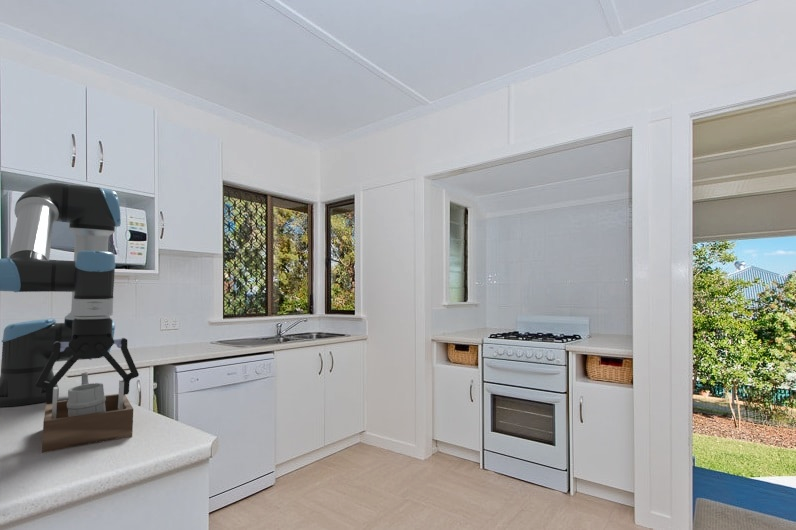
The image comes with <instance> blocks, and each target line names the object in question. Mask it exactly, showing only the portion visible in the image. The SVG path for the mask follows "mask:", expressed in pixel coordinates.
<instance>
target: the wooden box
mask: <svg viewBox="0 0 796 530" xmlns="http://www.w3.org/2000/svg"><path fill="white" fill-rule="evenodd" d="M104 395H105V396H106V401H105V409H106V412H99V413H92V414H85V415H78V416H71V417H68V408H67V402H68V399H64V400H59V401H58V400H57V410H56V419H52V404H46V403H45V408H44V409H45V410H44V416H43V426H42V441H41V442H42V444H41V453H47V452H53V451H58V449H59V450H63V449H69V448H75V447H80V446H87V445H92V444H98V443H102V442H103V441H104V442H108V441H109V442H110V441H115V440H121V439H125V438H132V437H133V428H134V427H133V425H134V408H133V406H132V404H131V403H130V401H129V399H128V398H127V394H126V395H124V396H123V409H121V410H119V409H118V395H119V393H114V394H104Z"/></svg>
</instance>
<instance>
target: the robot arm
mask: <svg viewBox="0 0 796 530" xmlns="http://www.w3.org/2000/svg"><path fill="white" fill-rule="evenodd" d="M14 215H15V217H16V218H17V220H16V223H15V227H14V232H13V237H12V241H11V244H10V248H9V253H8V257H6V258H0V292H14V293H25V292H26V293H28V292H29V293H31V292H32V293H34V292H35V293H37V292H38V293H40V292H49V293H50V292H55V293H56V292H59V293H60V292H61V293H62V292H64V293H65V292H66V293H67V292H68V293H70V292H71V308H70V309H71V310H70V312H68V313H67V315H65V316H64V320H63V321H64V322H57V321H56V319H55V318H44V319H35V320H26V321H20V322H15V323H11V324H8V325H7V326H6V327H5V328H4V329H3V332H2V333H3V336H2V340H1V343H2V349H1V350H2V351H1V363H0V407H17V406H26V405H34V404H38V403H39V404H40V403H43V402H45V405H46V404H52V419H56V410H57V401H58V397H59V394H60V387H59V385H58V383H59V381H61V379H62V378H63V377H64V376H65V375H66V374H67V373H68V371H69V370H70V369H71V368H72V367H73V365H75V364H76V362H77V361H79V360H80V361H81V360H82V361H83V360H91V361H92V360H93V359H102V358H104V359H105V360H106V361H107V362H108V363H109V364H110V365H111V367H113V369H114V370H115V371H116V372H117V374H118V375H120V377H121V378H122V379H120V380H118V394H119V395H118V409H119V410H121V409H123V396H124V395H126V396H127V395H129V393H130V383H131V380H133V379H135V378H138V377H139V375H140V373H139V371H138V369H137V367H136V365H135V362H134V359H133V357H132V355H131V353H130V351H129V348H128V339H127V338H126V337H122V338H114V337H115V336H114V335H115V329H116V323H115V321H113V319H112V318H111V316H113V315H114V314H113V313H114V290H115V289H114V287H115V286H114V285H115V271H116V265H117V264H116V258H115V257H116V256H115V254H114V253H113V252H111V251H109V239H110V238H109V237H110V236H111V235H112V234H114V233H115V232H116V229H115V228H117V227H118V228H119V227H120V226H121V221H122V220H121V209H120V200H119V196H118V193H117V192H116V191H114V190H112V189H109V188H102V187H96V186H88V185H87V186H85V185H77V184H69V183H64V182H63V183H62V182H48V183H44V184H40V185H37V186H33V187H32V188H31V189H28V190H27V191H25V192H24V193H22V194H21V195H20V197H19V198H18V199H17V201H16V203H15V206H14ZM56 222H59V223H60V222H61V223H68V224H69V228H68V229H69V230H70V231H71V232H72V233H73V234H74V250H73V251H74V253H73V260H71V261H70V260H57V259H56V260H55V259H53V260H52V259H50V258H51V257H50V256H51V255H50V253H51V245H52V237H53V229H54V228H53V227H54V225H55V223H56ZM113 345H116V347H117V348H118V349H120V351H121V353H122V356H123V358H124V360H125V362H126V365H127V366H128V369H129V371H130V372H129V373H127V371H125V370H124V369H123V367H122V366H121V365H120V364H119V363H118V361H117V360H116V359H115V358H114V357H113V356H112V354H111V353H110V352H111V349H112V347H113ZM56 362H65V363H64V364H63V365H62V366H61V367H60V369H59V370H58V371H57V372H56V373H54V368H53V367H54V365H55V363H56Z"/></svg>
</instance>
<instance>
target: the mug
mask: <svg viewBox="0 0 796 530" xmlns="http://www.w3.org/2000/svg"><path fill="white" fill-rule="evenodd" d="M80 376H81V385H76V386H72V387H71V388H69V389H68V390H67V400H68V402H67V408H68V417H71V416H78V415H85V414H92V413H99V412H106V409H105V401H106V396H105V395H106V394H105V391H104V390H105V389H104V384H103V383H101V382H95V383H94V382H93V383H92V382H91V383H90V382H89V373H88V372H82V373H81V374H80Z"/></svg>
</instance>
